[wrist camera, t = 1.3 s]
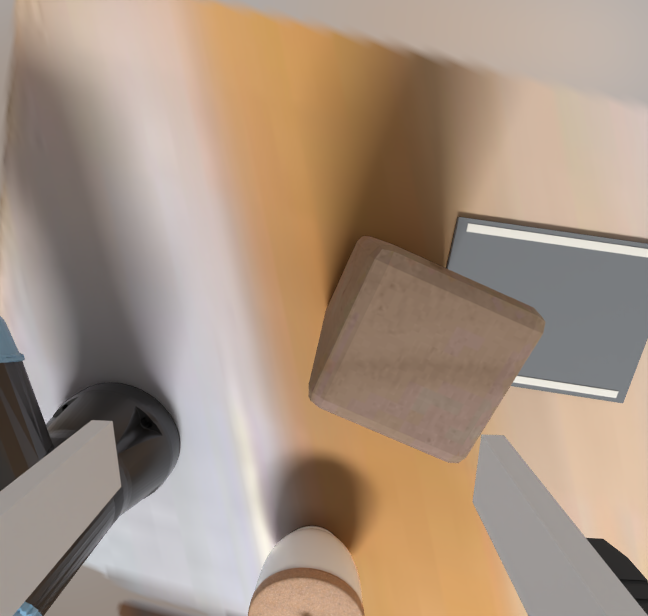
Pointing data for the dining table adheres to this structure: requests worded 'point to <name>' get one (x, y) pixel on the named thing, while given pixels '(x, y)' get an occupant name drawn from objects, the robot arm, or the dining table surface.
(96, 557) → the dining table surface
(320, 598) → the lidded bowl
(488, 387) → the wooden block
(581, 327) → the mat
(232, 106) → the dining table surface
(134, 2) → the dining table surface
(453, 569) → the dining table surface
